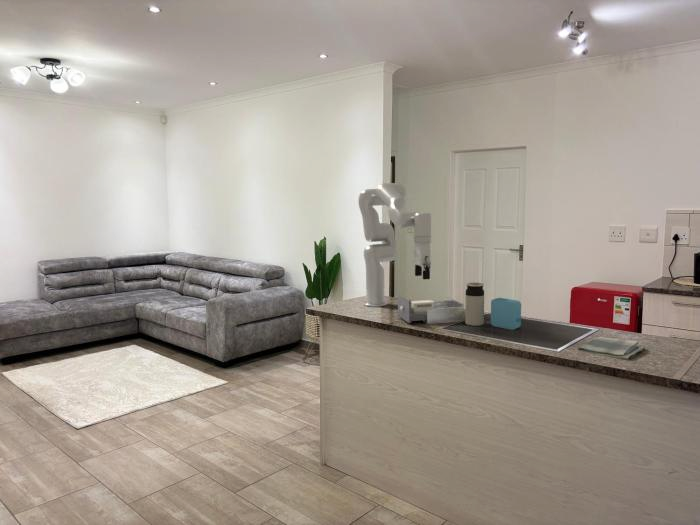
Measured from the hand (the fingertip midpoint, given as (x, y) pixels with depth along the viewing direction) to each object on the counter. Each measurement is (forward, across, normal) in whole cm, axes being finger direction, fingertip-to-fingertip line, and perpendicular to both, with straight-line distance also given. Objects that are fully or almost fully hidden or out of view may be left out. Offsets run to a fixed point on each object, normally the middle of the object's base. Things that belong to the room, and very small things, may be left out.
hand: (422, 277), depth 243 cm
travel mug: (+20, +14, +19) cm, 31 cm away
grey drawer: (+19, 0, -1) cm, 19 cm away
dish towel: (+20, +64, +49) cm, 83 cm away
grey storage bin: (+20, 0, +8) cm, 21 cm away
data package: (+20, +23, +29) cm, 42 cm away
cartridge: (+17, 0, 0) cm, 17 cm away
